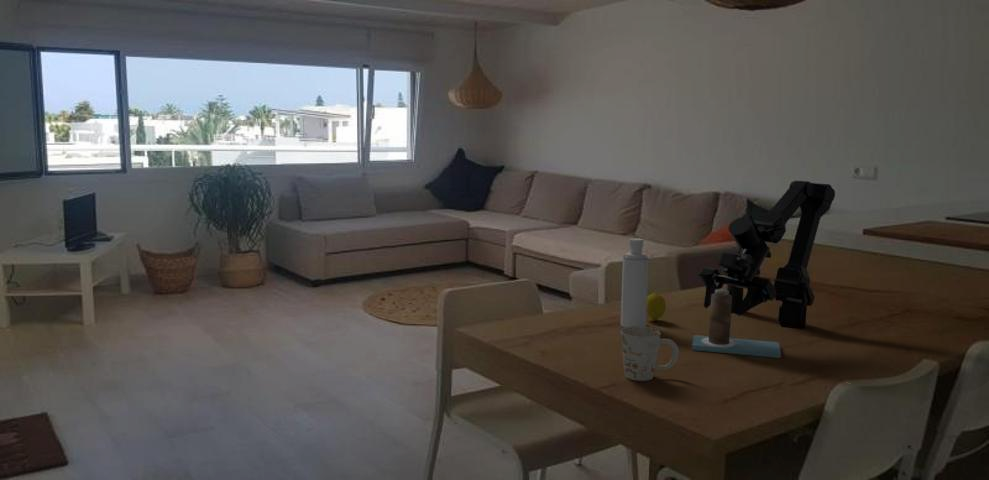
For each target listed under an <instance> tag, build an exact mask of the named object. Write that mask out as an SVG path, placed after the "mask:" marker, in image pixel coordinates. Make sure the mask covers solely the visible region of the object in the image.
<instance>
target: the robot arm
mask: <svg viewBox="0 0 989 480" xmlns="http://www.w3.org/2000/svg"><path fill="white" fill-rule="evenodd" d="M835 197H836V192H835V189H834V188H833V187H832V185H831V184H829V183H817V182H811V181H807V180H805V181H804V180H794V181H791V183H790V184H789V188H788V189H787V190H786V191H785V193H783V195H781V198H779V199H778V201H777V202H776V203H775V204H774V205H773V207H772V208H771V209H770V210H769V211H767V212H764V213H761V214H759V215H758V216H757V217H756V218H753V216H752V214H746V213H744V214H743V215H742V216H741V217H737V218H736V219H734V220H733V221H732V222H730V223H729V224H728V228H727V229H728V232H729V234H730V235H731V237H732V239H733V241H734V242H735V245H737V247H738V249H739V248H741V251H740V254H739V255H738V254H736V253H729V252H723V251H722V252H721V253H720V257H719V260H718V263H717V265H718V266H721V267H723V268H724V269H723V272H724V273H725V274H727V275H722V274H721V272H720V271H719V269H717V268H711V267H708V266H707V267H706V266H705V267H702V269H701V270H700V272H699V273H698V276H699V277H700V279H701V280H702V281H703V283H704V285H705V294H704V302H703V307H704V309H708V308H709V307H711V294H714V293H715V290H716V289H723V287H724V285H726V286H727V285H731V286H736V287H740V288H744V290H745V289H747V292H746V295H745V296H744V297H743V302H742V303H741V305H740V307H739V309H738V311H737V312H736V315H737V316H738V317H739V316H742V315H744V314H745V313H746V312H748V311H750V310H751V309H753V308H755V307H757V306H759V305H761V304H763V303H767V302H768V301H771V302H772V301H774V300H775V301H777V302H781V303H780V304H779V305H778V312H777V321H778V323H779V325H780V327H781V326H782V327H790V328H792V327H793V328H804V329H806V328H808V327H807V311H808V310H807V309H808V306H810V307H811V306H812V305H813V304H814V302H815V297H816V296H815V293H814V292H813V291H812V288H811V287H810V284H811V278H810V274H809V272H808V266H809V262H810V257H811V255H812V250H813V247H814V243H815V239H816V236H817V232H818V227H819V225H820V220H821V218H822V217H823V216H824V215H825V214H826V213H827V212H828V211H829V210H830V208H831V206H832V203H833V201H834V200H835ZM798 209H800V212H801V214H800V219H799V221H798V224H797V228H796V231H795V237H794V238H793V239H794V240H793V243H792V246H791V251H790V254H789V256H788V260H787V263H786V264H785V265H784V266H783V267H782V266H780V267H779V268H778V269H777V272H776V277H775V279H774V283H773V282H772V280H771V279H770V278H767V277H763V276H762V277H761V276H760V274H761V270H760V268H761V266H762V265H763V262H764V260H765V259H766V258H767V259H771V258H772V253H771V248H770V246H769V245H768V244H767V243H770V244H778V243H779V242H781V240H782V238H783V237H784V235H785V234H786V232H787V229H786V227H787V226H786V224H787V223H788V221H789V220H790V219H791V218H792V217H793V215H794V214H795V213H796V211H797V210H798Z"/></svg>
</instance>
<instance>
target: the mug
mask: <svg viewBox="0 0 989 480" xmlns="http://www.w3.org/2000/svg"><path fill="white" fill-rule="evenodd" d="M620 338H621V339H620V340H621V348H622V349H621V350H622V361H623V371H624V377H625V378H626V379H629V380H631V381H638V382H645V381H650V380H653V378H654V376H655V370H668V369H670V368H671V367H673V366H674V365H675V364H676V362H678V359H679V357H680V356H679V354H680V350H679V347H678V344H677V343H675V341H674V340H672V339H670V338H661V331H660V330H659V329H657V328H654V327H650V326H646V327H644V326H630V327H623V328H621V330H620ZM660 345H661V346H662V345H667V346H669V347H670V348H671V349H672V357H671V359H670V361H668V363H667V364H665V365H664V364H663V365H657V364H656V363H657V359H658V353H659V347H660Z"/></svg>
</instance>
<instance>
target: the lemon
mask: <svg viewBox="0 0 989 480" xmlns="http://www.w3.org/2000/svg"><path fill="white" fill-rule="evenodd" d="M665 313H666V301H665V297H663V295H661V294H660V293H658V292H657V291H655V292H653V293H650V294H649V295H647V313H646V316H648V317H649V318H650V319H652V320H653V321H655V322H656V321H657V320H658V319H660V318H662V317H663V316H664V314H665Z"/></svg>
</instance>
